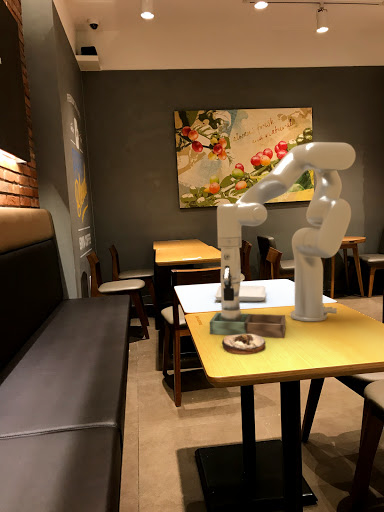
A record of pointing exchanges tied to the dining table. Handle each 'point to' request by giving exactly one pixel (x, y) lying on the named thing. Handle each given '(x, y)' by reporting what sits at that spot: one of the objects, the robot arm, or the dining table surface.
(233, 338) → the sushi roll
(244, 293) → the salad plate
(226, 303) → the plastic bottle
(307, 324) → the dining table surface
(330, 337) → the dining table surface
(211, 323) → the dock
